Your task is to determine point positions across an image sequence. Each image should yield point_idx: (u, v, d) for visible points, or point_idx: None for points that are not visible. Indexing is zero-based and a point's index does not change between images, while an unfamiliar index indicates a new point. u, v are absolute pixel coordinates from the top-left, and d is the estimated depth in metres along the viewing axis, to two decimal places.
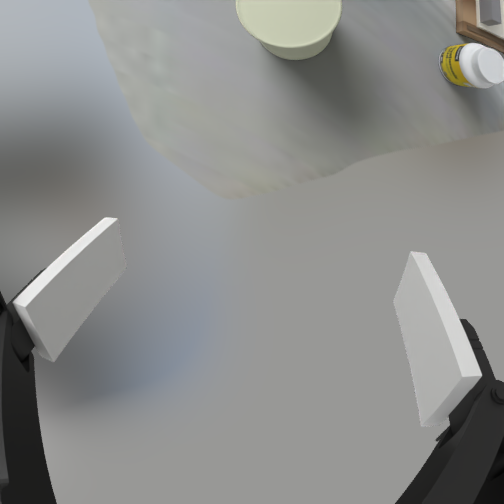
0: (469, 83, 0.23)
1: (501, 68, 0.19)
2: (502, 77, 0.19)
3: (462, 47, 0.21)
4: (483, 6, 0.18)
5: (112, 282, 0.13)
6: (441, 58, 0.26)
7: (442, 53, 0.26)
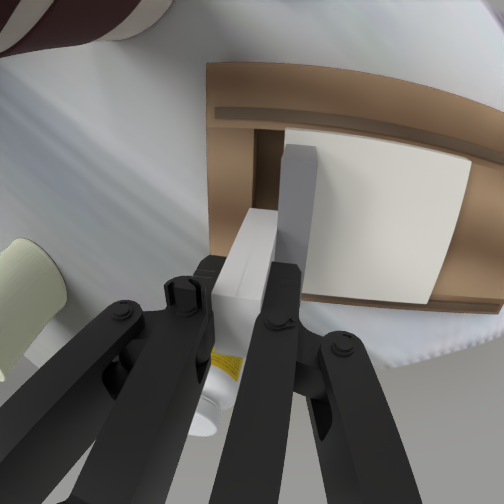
0: None
1: (204, 426, 0.17)
2: (209, 432, 0.17)
3: None
4: None
5: None
6: None
7: None
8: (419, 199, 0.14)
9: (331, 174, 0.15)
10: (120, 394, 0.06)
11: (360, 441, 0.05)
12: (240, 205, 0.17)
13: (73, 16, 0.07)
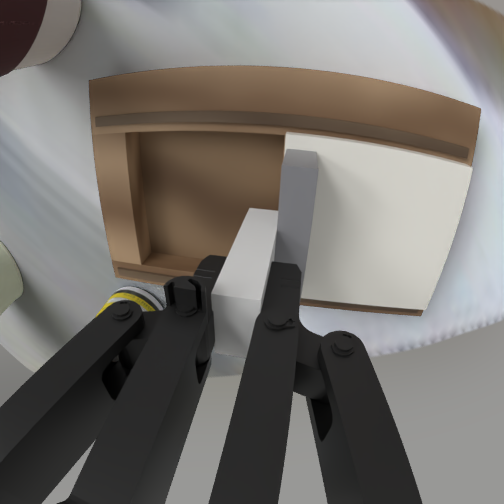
0: None
1: None
2: None
3: None
4: None
5: None
6: None
7: None
8: (420, 205, 0.14)
9: (331, 180, 0.14)
10: (120, 394, 0.06)
11: (360, 441, 0.05)
12: (123, 201, 0.18)
13: None
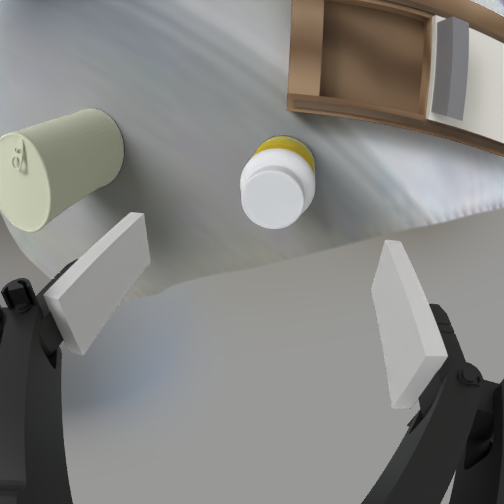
0: None
1: (291, 201, 0.19)
2: (293, 215, 0.19)
3: None
4: (438, 86, 0.18)
5: (137, 276, 0.14)
6: None
7: None
8: None
9: None
10: None
11: None
12: (314, 41, 0.20)
13: None
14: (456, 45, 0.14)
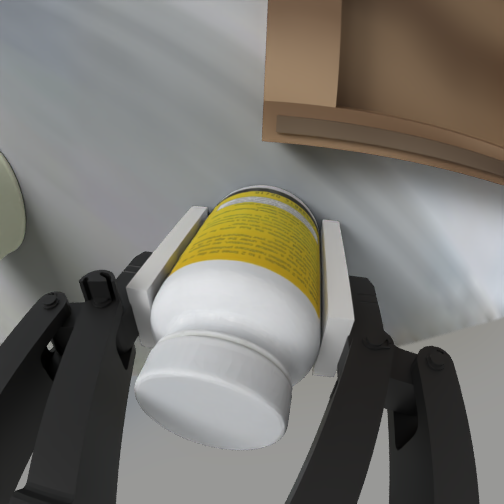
0: None
1: (254, 426, 0.07)
2: (261, 442, 0.07)
3: None
4: None
5: None
6: None
7: None
8: None
9: None
10: (54, 383, 0.06)
11: (441, 451, 0.05)
12: None
13: None
14: None
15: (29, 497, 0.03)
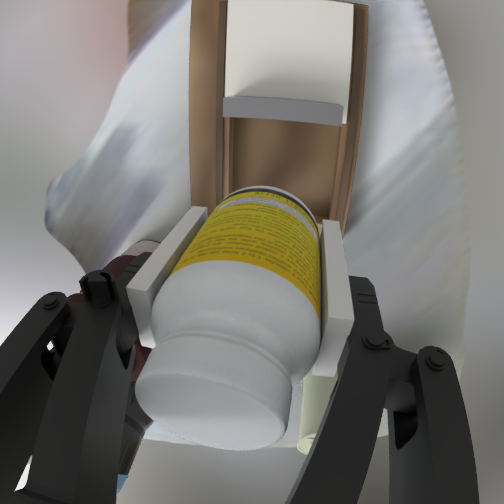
0: None
1: (254, 426, 0.07)
2: (261, 442, 0.07)
3: None
4: None
5: None
6: None
7: None
8: (261, 26, 0.18)
9: (251, 84, 0.21)
10: (54, 383, 0.06)
11: (441, 450, 0.05)
12: None
13: None
14: (257, 113, 0.19)
15: (29, 498, 0.03)
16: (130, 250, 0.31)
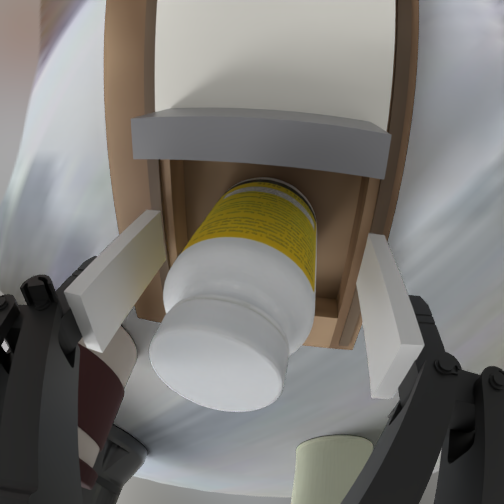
0: None
1: (254, 383, 0.08)
2: (261, 401, 0.08)
3: (173, 263, 0.10)
4: None
5: (154, 273, 0.14)
6: None
7: None
8: None
9: (200, 86, 0.11)
10: (8, 383, 0.05)
11: (492, 465, 0.04)
12: None
13: (83, 405, 0.16)
14: (198, 150, 0.09)
15: (0, 491, 0.03)
16: None
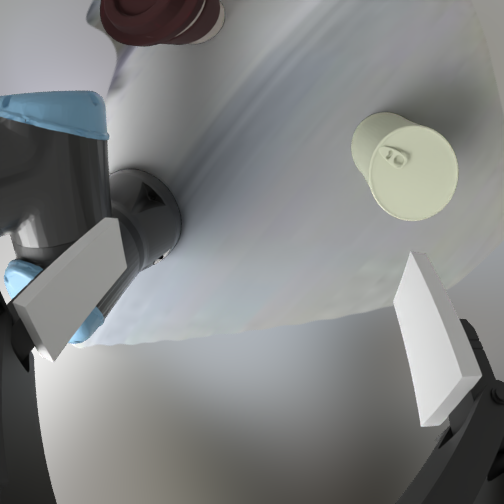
0: None
1: None
2: None
3: None
4: None
5: (112, 282, 0.13)
6: None
7: None
8: None
9: None
10: None
11: None
12: None
13: None
14: None
15: None
16: None
